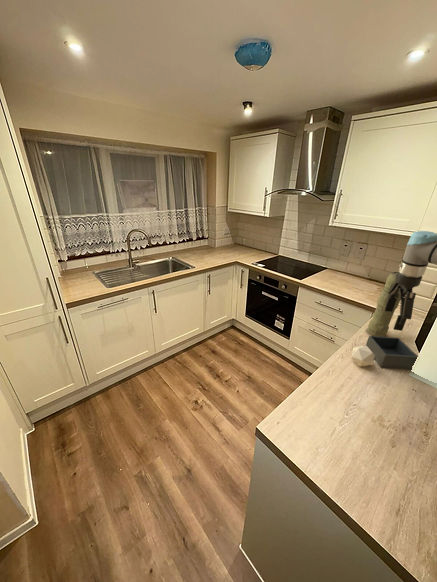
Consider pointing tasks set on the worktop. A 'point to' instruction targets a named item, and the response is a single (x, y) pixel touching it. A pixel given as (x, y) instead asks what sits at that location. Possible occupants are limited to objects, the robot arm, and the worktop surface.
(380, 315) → the green lumpy column
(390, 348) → the basin
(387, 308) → the robot arm
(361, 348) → the die
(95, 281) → the worktop surface
